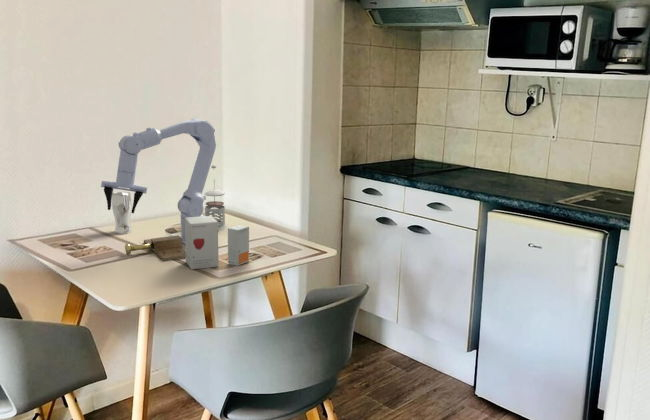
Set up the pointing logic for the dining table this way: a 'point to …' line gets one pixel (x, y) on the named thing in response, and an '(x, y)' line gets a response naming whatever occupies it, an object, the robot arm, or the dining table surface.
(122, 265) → the dining table surface
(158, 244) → the hinge
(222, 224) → the french press
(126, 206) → the beer glass
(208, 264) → the supplement box
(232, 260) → the skincare box
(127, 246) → the pin
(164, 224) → the dining table surface
